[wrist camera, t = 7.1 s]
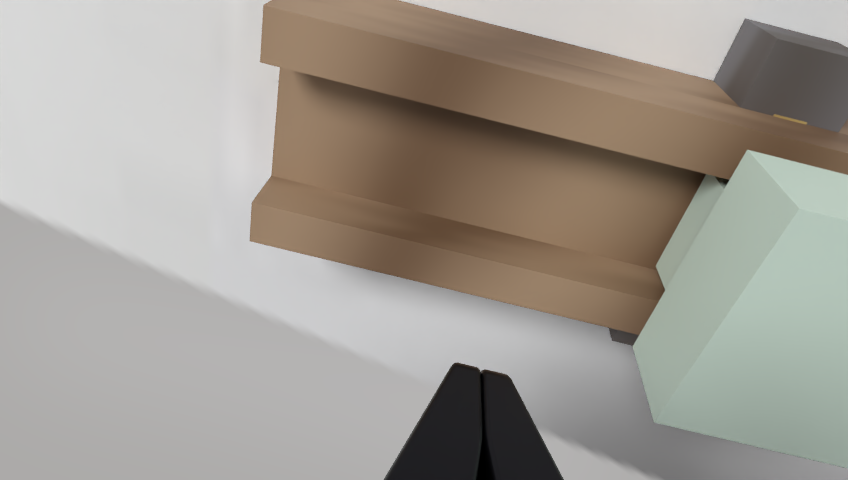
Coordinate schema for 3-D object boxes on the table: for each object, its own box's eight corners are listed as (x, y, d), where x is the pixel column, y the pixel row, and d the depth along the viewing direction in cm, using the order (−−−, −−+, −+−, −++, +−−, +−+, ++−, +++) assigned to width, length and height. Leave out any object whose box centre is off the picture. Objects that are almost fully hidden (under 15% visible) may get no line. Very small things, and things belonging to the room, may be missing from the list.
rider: (921, 166, 13) (1081, 279, 10) (787, 338, 16) (870, 473, 13) (715, 114, 13) (799, 208, 10) (618, 297, 16) (654, 422, 13)
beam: (1242, 147, 15) (1634, 294, 10) (975, 389, 20) (1139, 569, 15) (316, -93, 14) (214, -70, 9) (285, 222, 19) (209, 350, 14)
